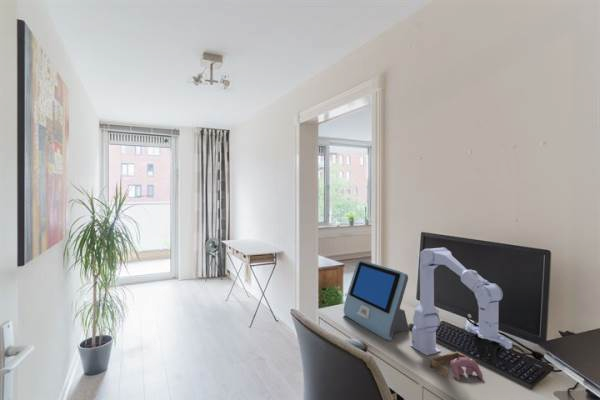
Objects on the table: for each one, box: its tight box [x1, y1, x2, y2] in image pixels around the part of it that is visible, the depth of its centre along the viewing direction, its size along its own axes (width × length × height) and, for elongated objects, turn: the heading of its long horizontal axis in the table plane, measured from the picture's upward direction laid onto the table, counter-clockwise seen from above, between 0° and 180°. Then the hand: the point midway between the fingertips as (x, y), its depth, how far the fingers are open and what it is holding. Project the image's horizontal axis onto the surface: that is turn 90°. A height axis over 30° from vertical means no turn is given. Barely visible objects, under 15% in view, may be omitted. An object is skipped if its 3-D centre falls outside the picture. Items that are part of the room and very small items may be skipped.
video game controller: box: [449, 357, 484, 381], centre depth 114 cm, size 10×5×7 cm, turn 92°
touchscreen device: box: [343, 259, 410, 342], centre depth 160 cm, size 35×20×30 cm, turn 27°
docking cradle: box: [429, 351, 472, 378], centre depth 119 cm, size 7×15×3 cm, turn 115°
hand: (488, 360), depth 106 cm, fingers open, 3 cm apart
